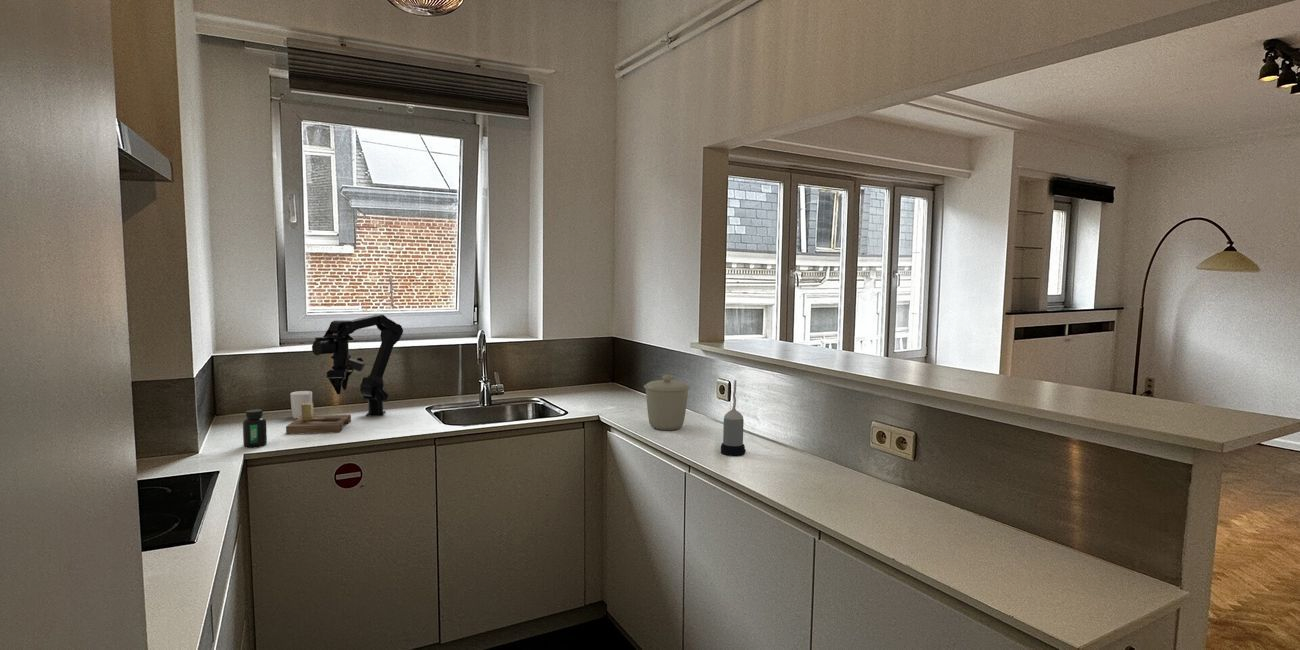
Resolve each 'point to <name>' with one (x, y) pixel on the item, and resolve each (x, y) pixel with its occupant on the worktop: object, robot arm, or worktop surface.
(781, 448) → the worktop surface
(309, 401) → the white cup
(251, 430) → the supplement bottle
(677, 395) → the canister
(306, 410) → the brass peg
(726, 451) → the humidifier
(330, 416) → the keyhole plate
